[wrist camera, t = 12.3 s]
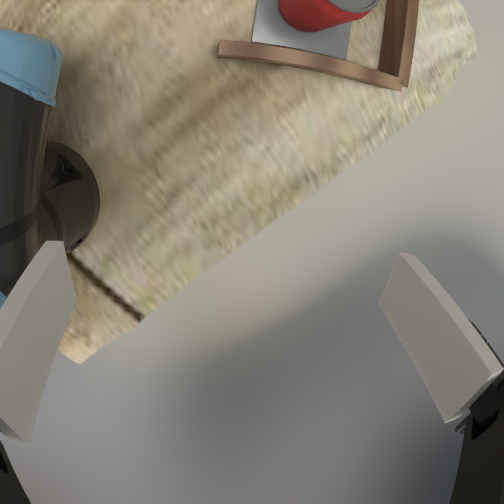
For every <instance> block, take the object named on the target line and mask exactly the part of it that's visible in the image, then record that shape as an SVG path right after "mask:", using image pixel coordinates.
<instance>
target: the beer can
mask: <svg viewBox="0 0 504 504" xmlns="http://www.w3.org/2000/svg"><path fill="white" fill-rule="evenodd" d="M378 1H379V0H279V9H280V12H281V14H282V16H283V18H284V19H285V20H286V21H287V22H288V23H289V24H290V25H291V26H293V27H295V28H296V29H298V30H301V31H305V32H318V31H321V30H324V29H327V28H331V27H334V26H337V25H340V24H344V23H347V22H351V21H354V20H358V19H361V18H362V17H364V16H365V15H366V14H368V13H369V12H370V11H371V10H372V8H374V7H375V6H376V5H377V3H378Z"/></svg>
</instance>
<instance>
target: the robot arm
mask: <svg viewBox="0 0 504 504" xmlns="http://www.w3.org/2000/svg"><path fill="white" fill-rule="evenodd" d="M61 67H62V54H61V52H60V50H59V48H58V47H57V46H56V45H55V44H54V43H52V42H51V41H48V40H46V39H43V38H40V37H36V36H33V35H29V34H25V33H21V32H16V31H12V30H6V29H1V28H0V431H1V432H2V433H3V434H4V435H5V436H6V437H7V438H8V439H9V440H11V441H14V442H17V443H20V444H23V445H26V446H30V441H31V436H32V433H33V428H34V424H35V421H36V417H37V413H38V409H39V405H40V402H41V399H42V395H43V391H44V388H45V385H46V382H47V379H48V376H49V373H50V370H51V367H52V364H53V361H54V358H55V355H56V352H57V349H58V347H59V344H60V341H61V338H62V336H63V333H64V331H65V328H66V325H67V323H68V320H69V318H70V316H71V313H72V311H73V308H74V306H75V304H76V301H77V297H76V294H75V290H74V286H73V282H72V278H71V274H70V270H69V266H68V261H67V257H66V254H67V253H69V252H71V251H72V250H74V249H76V248H77V247H78V246H80V245H81V244H82V243H83V242H84V241H85V239H86V238H87V237H88V235H89V233H90V232H91V230H92V229H93V227H94V225H95V223H96V220H97V217H98V213H99V206H100V199H99V191H98V186H97V183H96V180H95V177H94V175H93V173H92V171H91V169H90V168H89V166H88V165H87V164H86V162H85V161H84V160H83V159H82V158H81V157H80V156H79V155H78V154H77V153H76V152H74V151H73V150H72V149H70V148H68V147H66V146H64V145H61V144H58V143H53V142H47V137H48V131H49V126H50V121H51V116H52V112H53V107H55V106H56V99H55V96H56V90H57V85H58V80H59V75H60V71H61ZM378 304H379V306H380V307H381V309H382V311H383V312H384V314H385V315H386V317H387V319H388V320H389V322H390V324H391V325H392V327H393V329H394V330H395V332H396V334H397V335H398V337H399V339H400V341H401V342H402V344H403V346H404V347H405V349H406V351H407V353H408V354H409V356H410V358H411V360H412V361H413V363H414V365H415V367H416V369H417V371H418V372H419V374H420V376H421V378H422V380H423V381H424V383H425V385H426V387H427V389H428V391H429V393H430V395H431V396H432V398H433V400H434V402H435V404H436V406H437V408H438V410H439V412H440V414H441V416H442V418H443V420H444V422H445V423H447V422H450V421H452V420H455V419H457V418H459V417H460V416H461V415H462V414H463V413H464V412H465V411H466V410H467V409H468V408H469V409H470V411H471V413H470V414H469V415H468V416H467V417H466V418H465V419H464V420H463V421H462V422H461V423H460V424H459V425H458V426H456V429H455V431H456V432H457V431H458V430H459V429H461V427H463V426H464V425H466V426H465V427H464V428H463V429H462V430H461V432H460V433H462V434H464V439H463V446H462V451H461V457H460V462H459V467H458V472H457V476H456V480H455V484H454V488H453V492H452V496H451V499H450V503H449V504H504V365H503V363H502V362H501V360H500V359H499V357H498V356H497V354H496V353H495V352H494V350H493V349H492V348H491V346H490V345H489V343H487V341H486V339H485V338H484V337H483V336H481V332H480V331H479V330H478V329H477V327H476V326H475V324H473V323H472V322H471V321H470V320H469V319H468V318H467V317H466V316H465V315H464V313H463V312H462V311H461V310H460V308H459V307H458V306H457V305H456V303H455V302H454V301H453V300H452V299H451V297H450V296H449V295H448V294H447V292H446V291H445V290H444V289H443V288H442V286H441V285H440V284H439V283H438V282H437V280H435V278H434V277H433V276H432V275H431V274H430V272H429V271H428V270H427V269H426V268H425V267H424V266H423V265H422V263H421V262H420V261H419V260H418V259H417V258H416V257H415V256H414V254H411V253H399V255H398V257H397V260H396V262H395V265H394V267H393V270H392V272H391V275H390V277H389V279H388V282H387V284H386V287H385V289H384V291H383V293H382V296H381V298H380V300H379V303H378ZM0 504H31V503H30V501H29V499H28V497H27V496H26V493H25V492H24V490H23V488H22V486H21V484H20V482H19V480H18V478H17V476H16V474H15V472H14V469H13V467H12V465H11V463H10V461H9V458H8V456H7V454H6V451H5V449H4V446H3V444H2V443H1V441H0Z"/></svg>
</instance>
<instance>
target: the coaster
mask: <svg viewBox="0 0 504 504" xmlns="http://www.w3.org/2000/svg"><path fill="white" fill-rule="evenodd" d="M350 28H351V22H347V23H344V24H340V25H337V26H334V27H331V28H327V29H324V30H321V31H318V32H305V31H301V30H298V29H296V28H295V27H293V26H291V25H290V24H289V23H288V22H287V21H286V20H285V19H284V18H283V16H282V14H281V12H280V9H279V0H257V6H256V13H255V20H254V27H253V34H252V41H251V42H255V43H262V44H269V45H276V46H282V47H288V48H293V49H298V50H303V51H308V52H313V53H318V54H322V55H326V56H330V57H335V58H338V59H342V60H346V56H347V49H348V42H349V35H350Z"/></svg>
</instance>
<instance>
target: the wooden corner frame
mask: <svg viewBox="0 0 504 504" xmlns="http://www.w3.org/2000/svg"><path fill="white" fill-rule="evenodd" d="M418 6H419V0H387V5H386V14H385V23H384V31H383V38H382V46H381V52H380V59H379V65H378V71H377V70H374V69H371V68H368V67H364V66H361V65H358V64H354V63H350V62H347V61H343V60H339V59H335V58H331V57H327V56H323V55H318V54H314V53H309V52H304V51H299V50H294V49H288V48H283V47H277V46H270V45H263V44H256V43H247V42H238V41H227V40H220V42H219V46H218V54H217V57H218V58H230V59H241V60H250V61H258V62H266V63H273V64H279V65H286V66H291V67H297V68H303V69H308V70H313V71H318V72H322V73H327V74H331V75H335V76H340V77H344V78H348V79H351V80H355V81H359V82H363V83H366V84H370V85H373V86H376V87H380V88H385V89H391V90H396V91H402V87H408V83H409V77H410V71H411V65H412V58H413V51H414V43H415V35H416V27H417V17H418Z"/></svg>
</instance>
